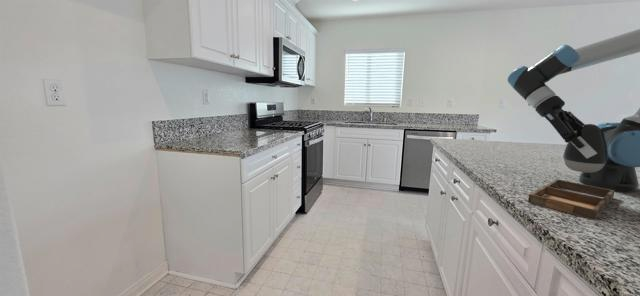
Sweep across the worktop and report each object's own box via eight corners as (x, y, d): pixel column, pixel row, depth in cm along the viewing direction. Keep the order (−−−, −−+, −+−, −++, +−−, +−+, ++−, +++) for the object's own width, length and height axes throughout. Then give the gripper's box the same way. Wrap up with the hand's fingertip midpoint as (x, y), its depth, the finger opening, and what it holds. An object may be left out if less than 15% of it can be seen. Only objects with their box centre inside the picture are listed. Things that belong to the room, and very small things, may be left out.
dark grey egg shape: (615, 175, 81) (625, 125, 79) (574, 174, 83) (583, 125, 81) (589, 167, 91) (597, 122, 88) (553, 166, 93) (560, 122, 90)
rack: (555, 185, 99) (556, 179, 98) (613, 197, 87) (614, 190, 87) (527, 202, 82) (528, 194, 82) (594, 220, 70) (596, 211, 70)
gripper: (550, 109, 102) (599, 157, 91) (519, 110, 92) (570, 164, 81) (570, 94, 97) (625, 144, 86) (539, 94, 86) (597, 150, 75)
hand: (598, 154), depth 83 cm, fingers closed on dark grey egg shape, 9 cm apart
